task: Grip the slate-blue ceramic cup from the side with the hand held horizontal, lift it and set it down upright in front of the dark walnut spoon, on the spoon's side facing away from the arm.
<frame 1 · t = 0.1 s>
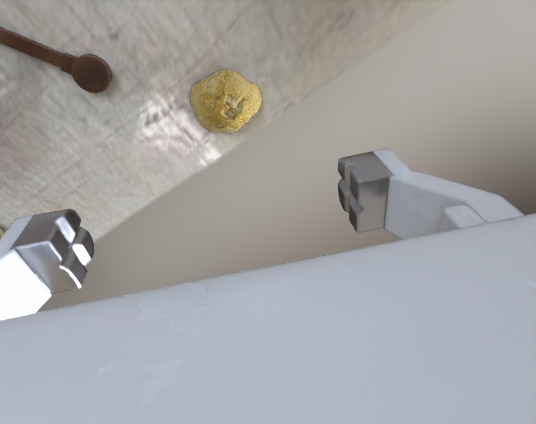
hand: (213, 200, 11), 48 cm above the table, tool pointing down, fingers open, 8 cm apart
fossil: (226, 100, 56), on the table
spoon: (56, 57, 49), on the table
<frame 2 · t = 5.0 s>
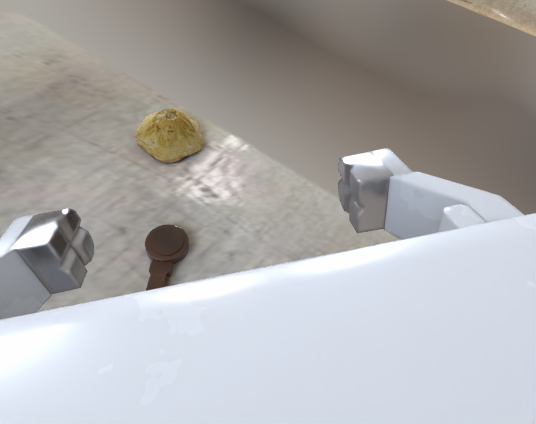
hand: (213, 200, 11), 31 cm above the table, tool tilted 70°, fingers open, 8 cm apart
fossil: (169, 139, 55), on the table
spoon: (157, 283, 40), on the table
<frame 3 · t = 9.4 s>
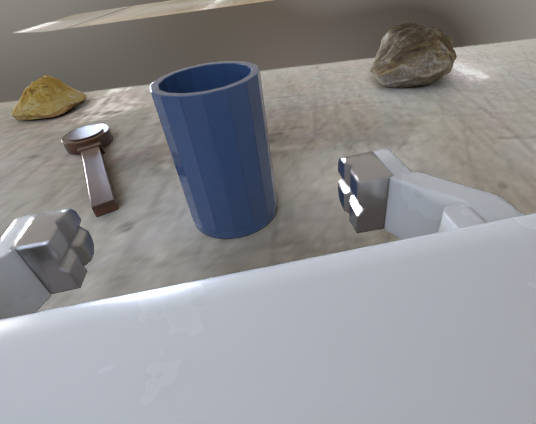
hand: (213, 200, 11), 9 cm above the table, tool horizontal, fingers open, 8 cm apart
cup: (235, 210, 26), on the table
fossil: (50, 111, 53), on the table
stone: (407, 79, 45), on the table
spoon: (94, 160, 36), on the table
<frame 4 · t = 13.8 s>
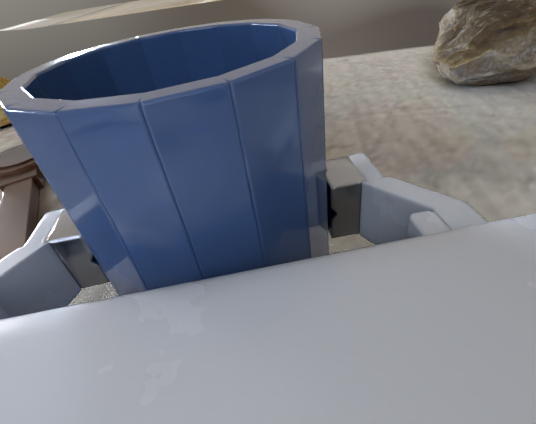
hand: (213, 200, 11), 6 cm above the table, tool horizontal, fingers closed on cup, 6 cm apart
cup: (246, 326, 13), on the table, touching gripper
stone: (480, 73, 32), on the table
spoon: (25, 199, 24), on the table
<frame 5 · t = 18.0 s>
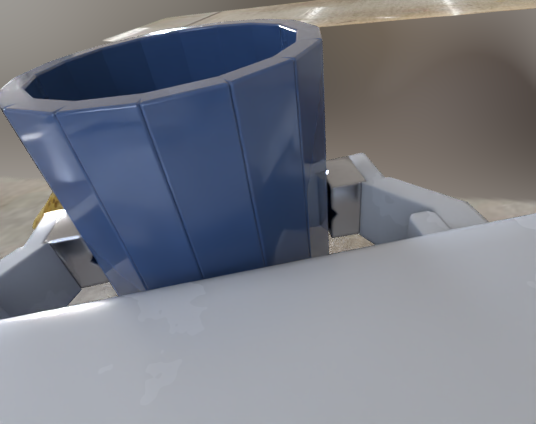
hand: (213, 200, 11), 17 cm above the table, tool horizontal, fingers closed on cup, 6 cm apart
cup: (246, 327, 13), point 11 cm above the table, touching gripper
fossil: (81, 216, 42), on the table
when the fingers open (5 cm above the table, at t = 22.6 s): cup stays where it is, on the table.
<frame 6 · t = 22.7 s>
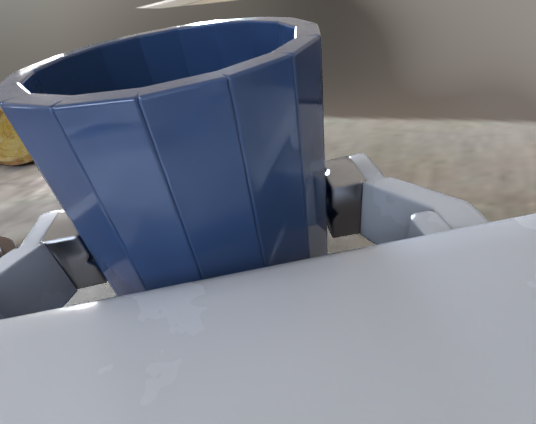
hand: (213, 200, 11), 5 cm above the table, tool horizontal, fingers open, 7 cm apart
cup: (245, 326, 13), on the table
fossil: (41, 142, 32), on the table
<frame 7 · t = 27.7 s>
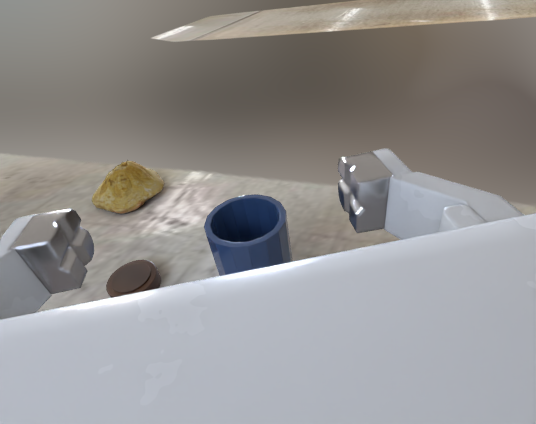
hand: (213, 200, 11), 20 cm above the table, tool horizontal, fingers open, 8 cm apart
cup: (263, 298, 32), on the table
fossil: (129, 194, 52), on the table
spoon: (127, 326, 32), on the table
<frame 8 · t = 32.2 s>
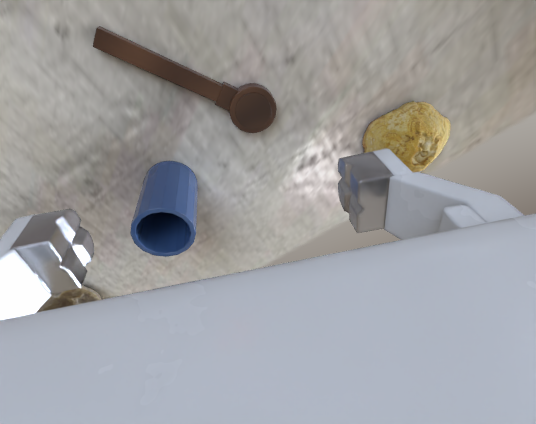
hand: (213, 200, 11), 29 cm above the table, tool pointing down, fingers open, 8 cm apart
cup: (171, 183, 43), on the table
fossil: (402, 137, 44), on the table
stone: (84, 303, 53), on the table
spoon: (210, 87, 37), on the table
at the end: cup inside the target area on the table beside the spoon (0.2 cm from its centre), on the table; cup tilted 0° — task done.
